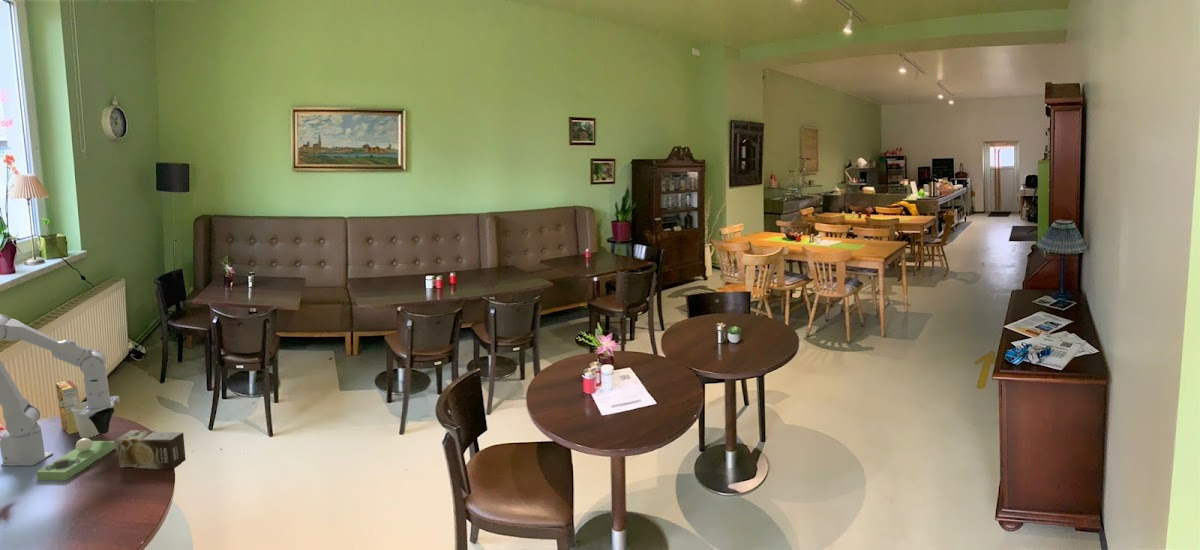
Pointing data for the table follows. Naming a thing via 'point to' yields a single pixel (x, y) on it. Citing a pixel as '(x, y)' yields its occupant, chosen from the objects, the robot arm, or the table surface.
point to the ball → (84, 445)
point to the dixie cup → (83, 422)
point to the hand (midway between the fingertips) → (103, 432)
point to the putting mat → (74, 461)
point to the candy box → (67, 405)
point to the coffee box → (151, 449)
